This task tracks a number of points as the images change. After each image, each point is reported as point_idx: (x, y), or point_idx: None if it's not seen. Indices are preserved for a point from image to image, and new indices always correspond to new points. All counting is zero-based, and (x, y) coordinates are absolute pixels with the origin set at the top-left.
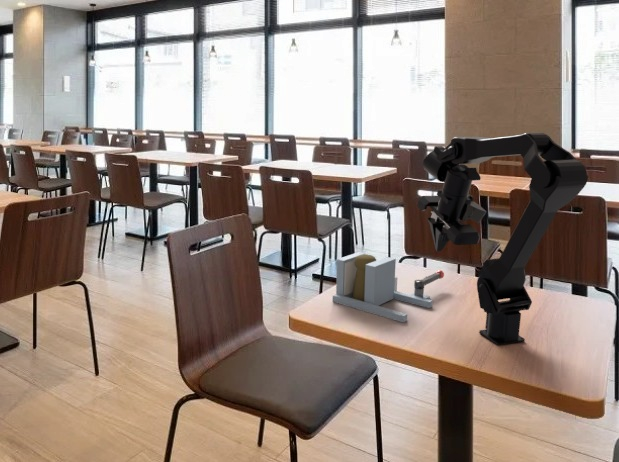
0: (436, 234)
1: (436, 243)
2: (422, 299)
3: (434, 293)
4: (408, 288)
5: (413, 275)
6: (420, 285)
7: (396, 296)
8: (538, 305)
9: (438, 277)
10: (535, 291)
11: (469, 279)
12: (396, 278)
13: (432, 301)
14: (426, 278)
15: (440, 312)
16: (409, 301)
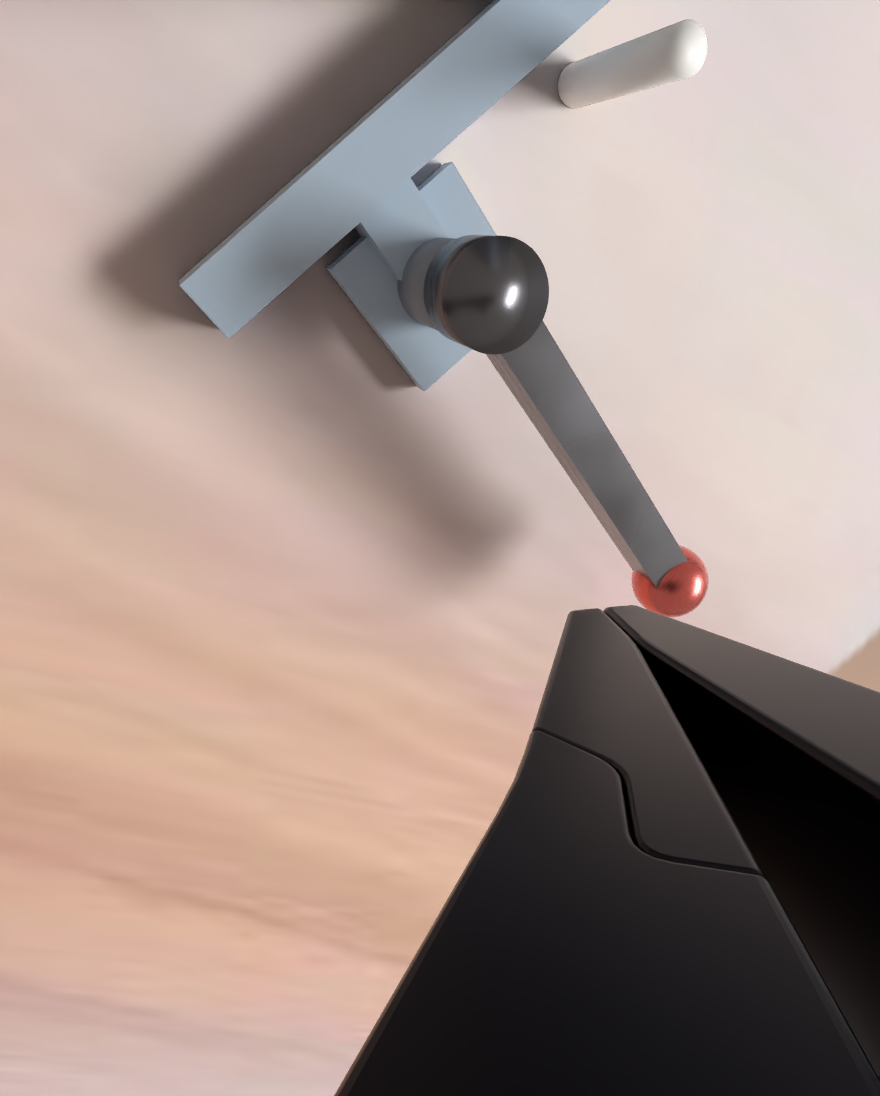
0: (678, 884)
1: (611, 672)
2: (268, 243)
3: (519, 468)
4: (669, 297)
5: (867, 445)
6: (437, 284)
7: (466, 27)
8: (200, 1011)
9: (624, 553)
10: None
11: None
12: (661, 54)
13: (226, 336)
14: (573, 415)
15: (60, 350)
16: (344, 134)
